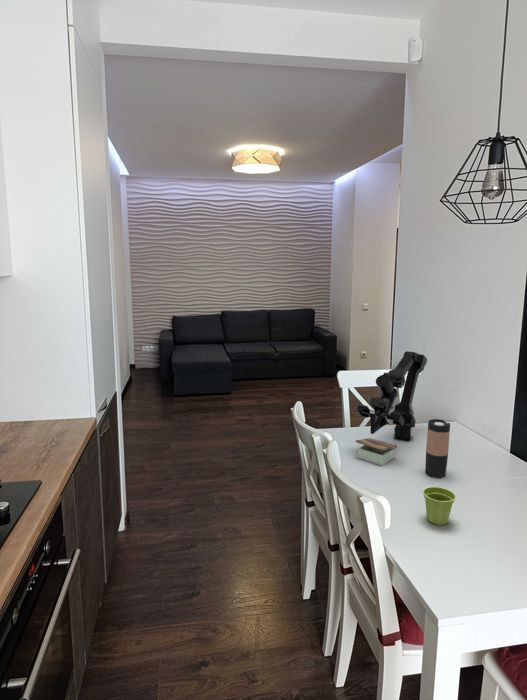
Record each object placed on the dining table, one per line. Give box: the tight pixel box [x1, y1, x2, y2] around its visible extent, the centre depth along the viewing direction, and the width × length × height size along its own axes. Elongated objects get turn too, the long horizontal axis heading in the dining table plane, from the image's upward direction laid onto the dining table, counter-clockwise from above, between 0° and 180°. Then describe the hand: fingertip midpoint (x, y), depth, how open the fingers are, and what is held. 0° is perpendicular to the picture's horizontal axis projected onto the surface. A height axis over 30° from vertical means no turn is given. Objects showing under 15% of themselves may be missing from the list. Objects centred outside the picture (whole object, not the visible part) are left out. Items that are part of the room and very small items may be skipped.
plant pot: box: [422, 486, 457, 526], centre depth 143 cm, size 9×9×9 cm
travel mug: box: [424, 418, 451, 479], centre depth 172 cm, size 8×8×20 cm
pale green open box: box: [357, 444, 396, 466], centre depth 188 cm, size 10×11×4 cm
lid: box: [355, 437, 398, 450], centre depth 187 cm, size 12×12×1 cm
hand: (371, 433), depth 183 cm, fingers closed
